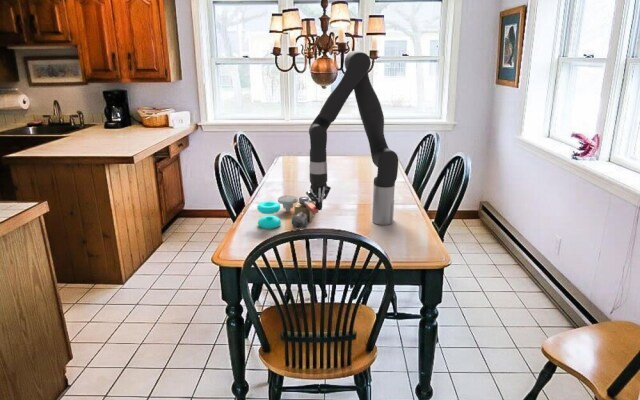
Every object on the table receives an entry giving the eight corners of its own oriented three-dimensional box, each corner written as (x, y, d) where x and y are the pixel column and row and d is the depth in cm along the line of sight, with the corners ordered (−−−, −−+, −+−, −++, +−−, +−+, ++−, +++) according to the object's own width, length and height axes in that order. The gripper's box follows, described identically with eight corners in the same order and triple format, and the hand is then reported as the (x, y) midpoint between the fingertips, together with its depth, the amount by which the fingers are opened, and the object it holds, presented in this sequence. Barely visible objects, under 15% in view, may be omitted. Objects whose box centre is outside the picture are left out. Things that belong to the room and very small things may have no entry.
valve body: (317, 211, 223) (317, 196, 220) (305, 228, 203) (305, 212, 200) (302, 210, 224) (302, 195, 222) (290, 227, 204) (289, 211, 202)
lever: (297, 202, 212) (297, 197, 211) (307, 200, 214) (307, 196, 213) (310, 214, 197) (310, 209, 196) (320, 213, 198) (320, 208, 198)
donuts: (278, 199, 209) (281, 206, 200) (279, 220, 212) (282, 228, 203) (255, 201, 207) (258, 208, 198) (256, 222, 210) (259, 230, 201)
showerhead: (289, 201, 215) (273, 197, 221) (289, 216, 217) (274, 211, 223) (302, 196, 222) (287, 192, 228) (302, 210, 224) (287, 206, 230)
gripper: (312, 175, 191) (313, 215, 197) (335, 169, 200) (335, 208, 205) (300, 172, 196) (301, 211, 202) (323, 166, 205) (323, 204, 210)
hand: (318, 209), depth 203 cm, fingers closed
